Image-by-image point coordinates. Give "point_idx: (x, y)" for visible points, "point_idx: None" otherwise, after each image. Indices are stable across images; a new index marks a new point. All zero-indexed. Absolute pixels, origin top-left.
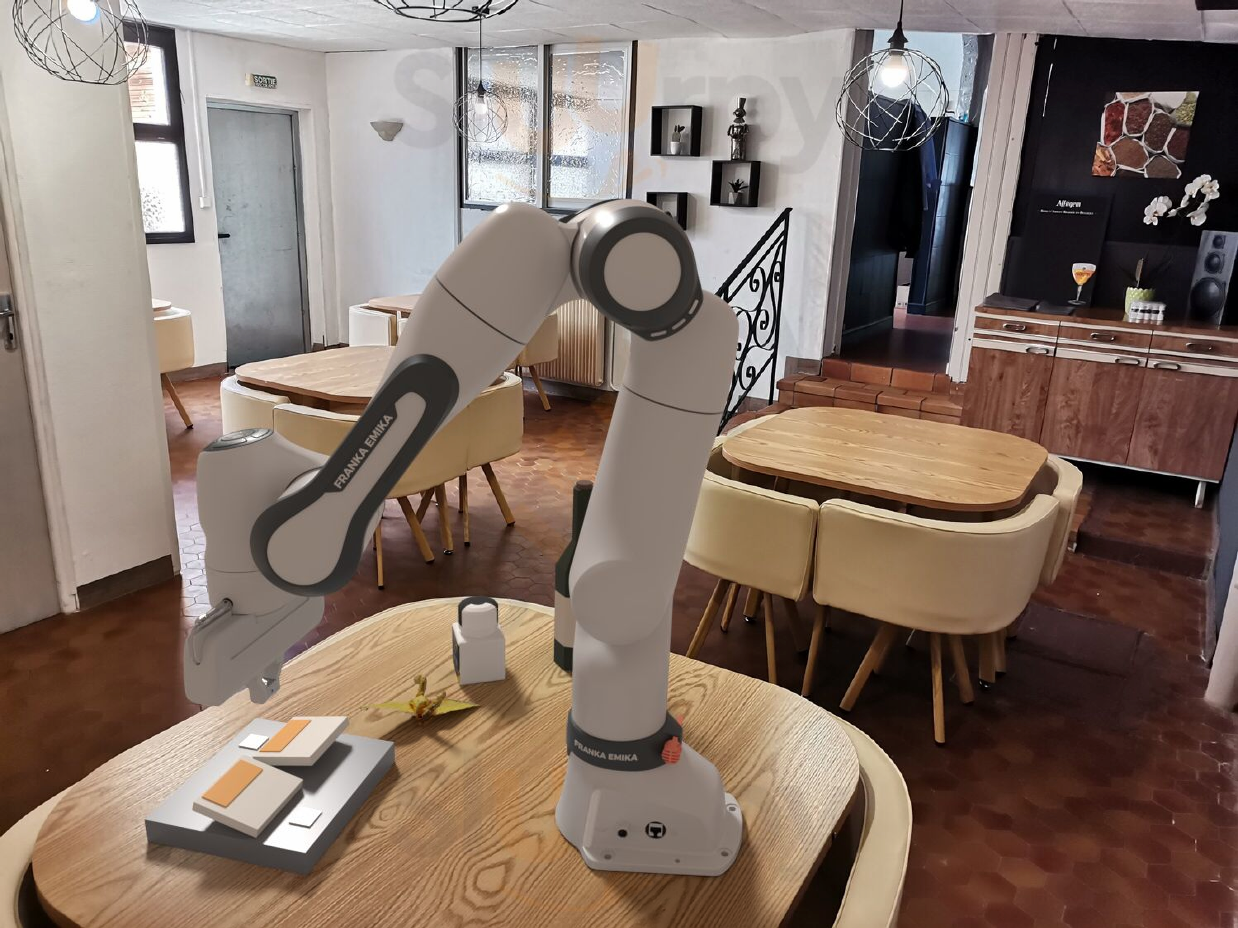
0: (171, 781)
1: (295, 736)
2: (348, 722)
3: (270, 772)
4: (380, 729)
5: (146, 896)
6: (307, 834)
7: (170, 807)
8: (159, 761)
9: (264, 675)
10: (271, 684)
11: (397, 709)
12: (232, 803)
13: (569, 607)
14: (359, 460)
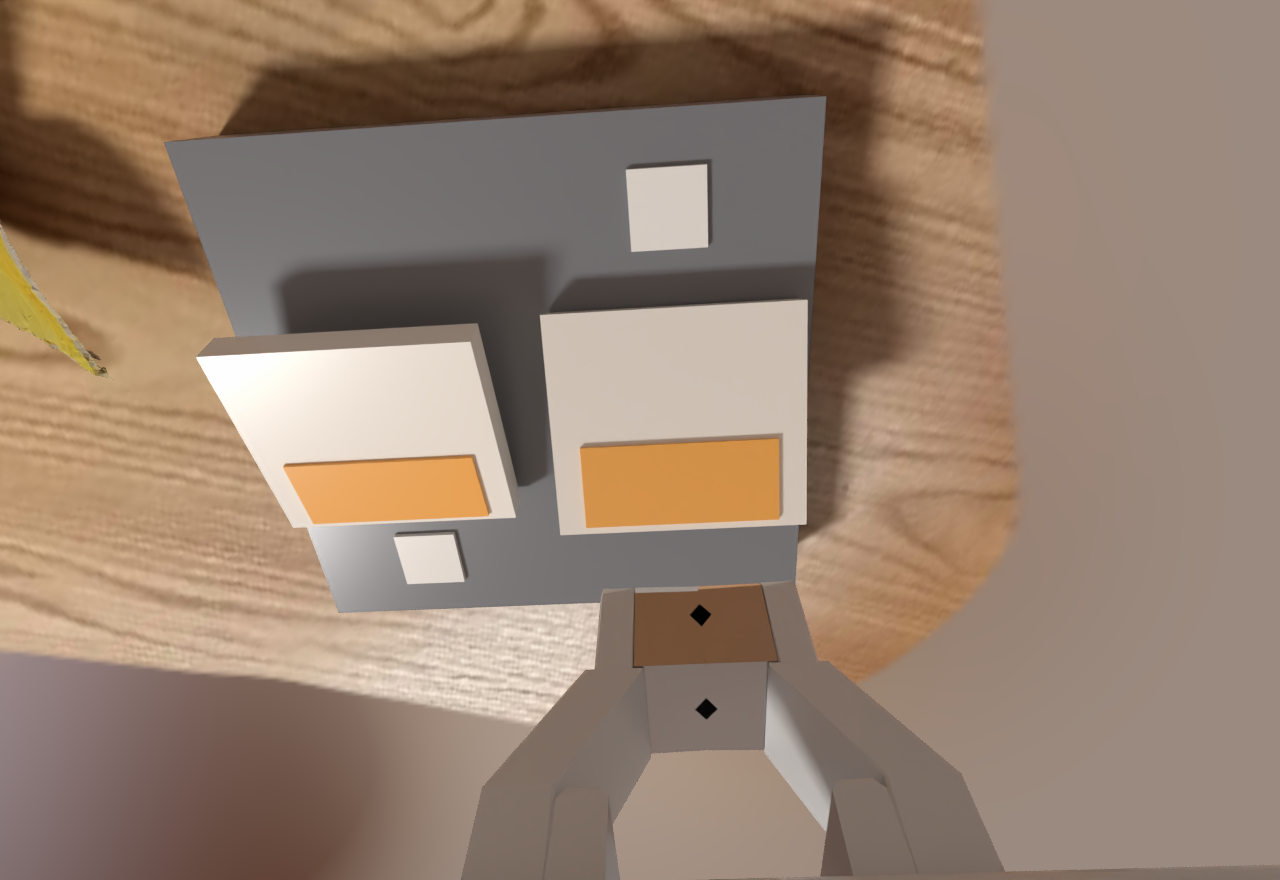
0: (592, 629)
1: (383, 460)
2: (212, 343)
3: (576, 420)
4: (116, 288)
5: (945, 445)
6: (741, 148)
7: (739, 572)
8: (545, 686)
9: (639, 753)
10: (705, 656)
11: (2, 246)
12: (753, 431)
13: None
14: None
